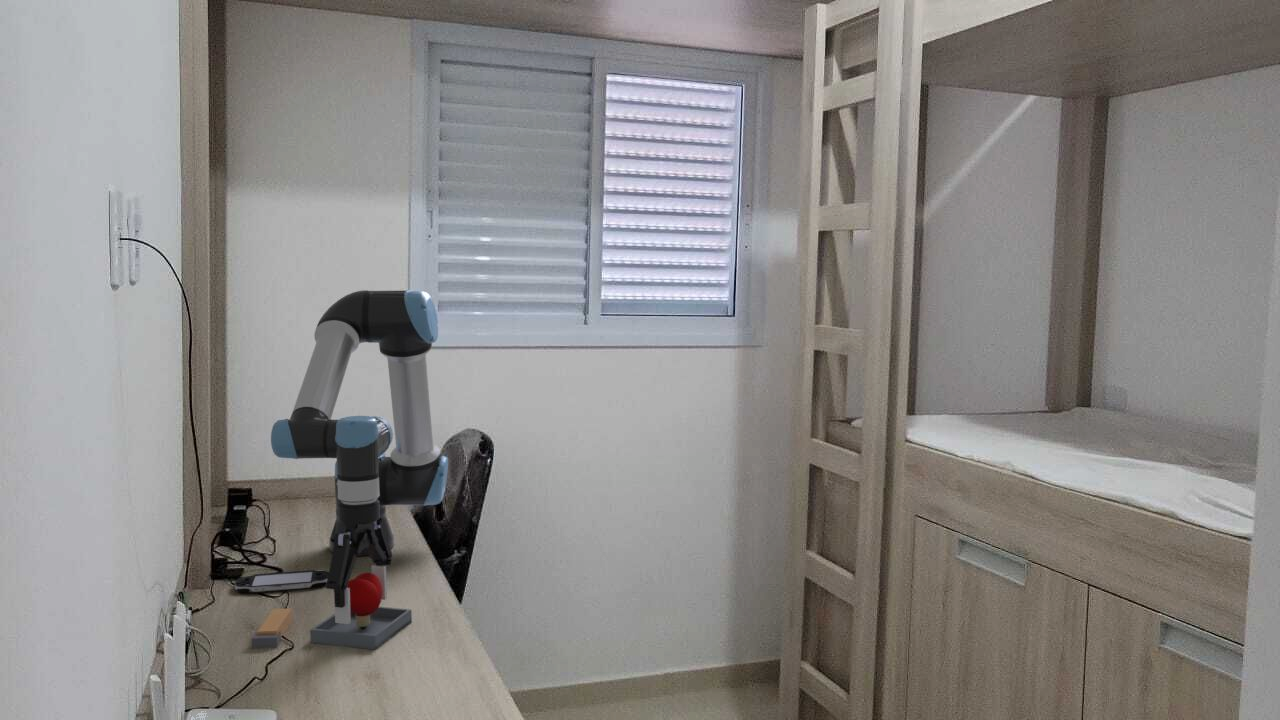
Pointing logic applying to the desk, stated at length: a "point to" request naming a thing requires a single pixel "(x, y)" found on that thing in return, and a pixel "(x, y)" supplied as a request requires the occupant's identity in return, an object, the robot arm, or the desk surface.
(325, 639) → the parts tray
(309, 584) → the gaming console
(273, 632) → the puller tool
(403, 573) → the desk surface
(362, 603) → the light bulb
